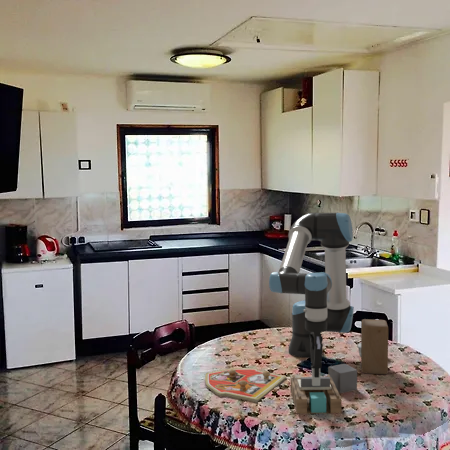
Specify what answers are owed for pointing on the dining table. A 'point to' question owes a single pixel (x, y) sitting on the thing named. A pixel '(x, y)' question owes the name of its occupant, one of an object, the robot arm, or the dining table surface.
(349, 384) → the stand
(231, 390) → the knob puzzle
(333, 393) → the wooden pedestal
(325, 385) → the lid
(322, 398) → the block
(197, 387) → the dining table surface
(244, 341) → the dining table surface
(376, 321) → the wooden block
